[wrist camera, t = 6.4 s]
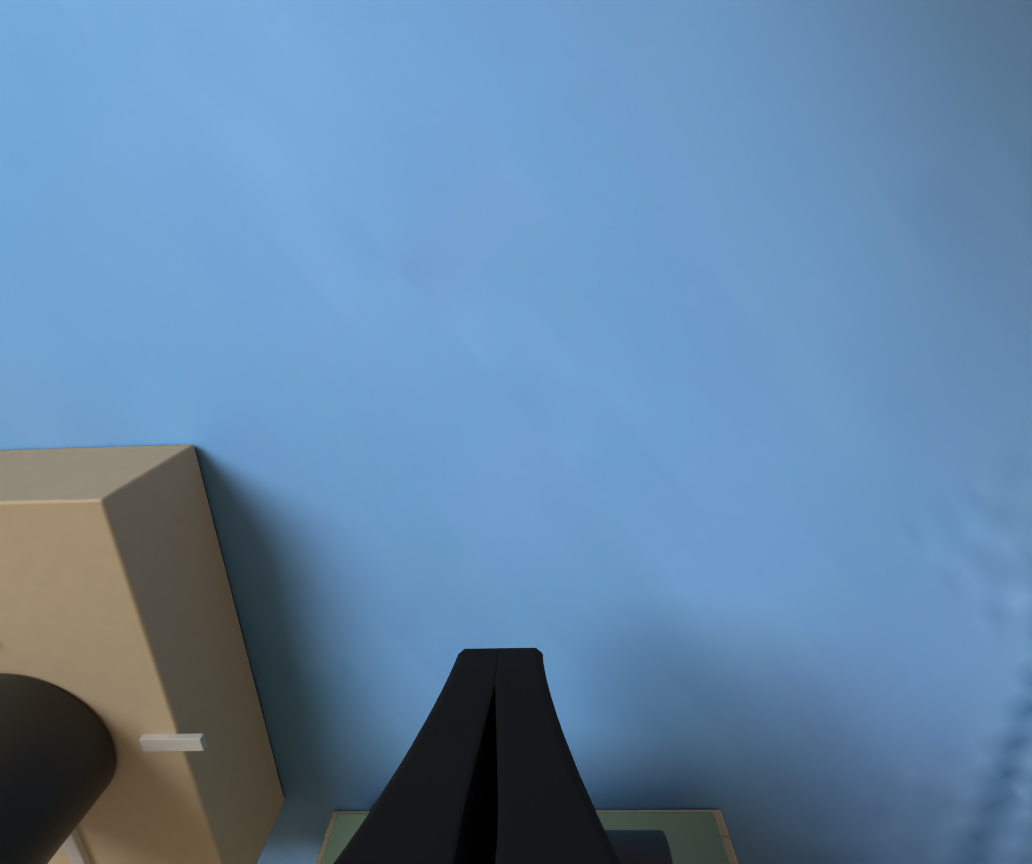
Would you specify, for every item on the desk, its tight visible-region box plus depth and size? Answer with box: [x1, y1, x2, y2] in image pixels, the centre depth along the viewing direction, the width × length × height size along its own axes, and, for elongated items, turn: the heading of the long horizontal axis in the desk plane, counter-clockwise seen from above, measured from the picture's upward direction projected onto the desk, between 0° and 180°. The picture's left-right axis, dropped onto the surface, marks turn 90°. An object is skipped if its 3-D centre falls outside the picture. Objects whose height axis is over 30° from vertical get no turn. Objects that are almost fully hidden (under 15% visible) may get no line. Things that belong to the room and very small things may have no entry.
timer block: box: [0, 445, 284, 864], centre depth 14 cm, size 11×12×3 cm
